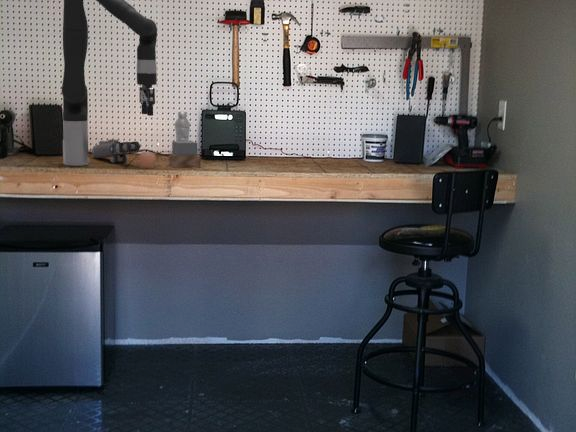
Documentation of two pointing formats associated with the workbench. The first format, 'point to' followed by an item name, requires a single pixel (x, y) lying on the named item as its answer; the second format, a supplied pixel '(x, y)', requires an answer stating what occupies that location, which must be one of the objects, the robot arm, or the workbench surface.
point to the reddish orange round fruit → (147, 160)
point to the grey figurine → (182, 127)
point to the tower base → (184, 161)
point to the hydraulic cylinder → (115, 150)
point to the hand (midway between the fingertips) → (147, 114)
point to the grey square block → (184, 148)
